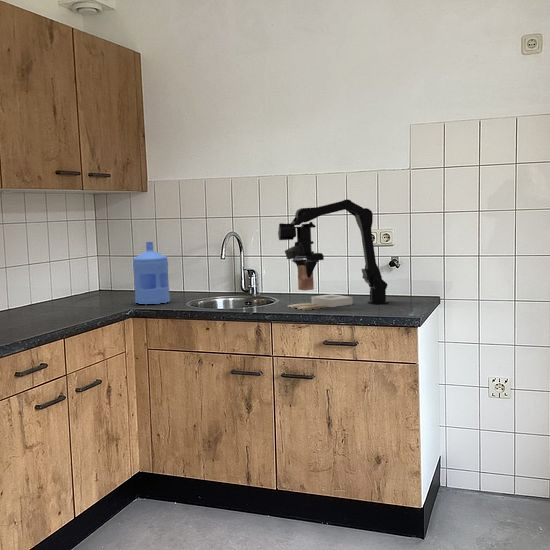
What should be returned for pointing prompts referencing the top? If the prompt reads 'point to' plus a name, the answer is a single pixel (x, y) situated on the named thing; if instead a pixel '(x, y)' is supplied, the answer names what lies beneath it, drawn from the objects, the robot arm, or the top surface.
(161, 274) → the water jug
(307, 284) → the terracotta peg
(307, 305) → the slatted wooden trivet
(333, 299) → the pocket plate
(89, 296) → the top surface
